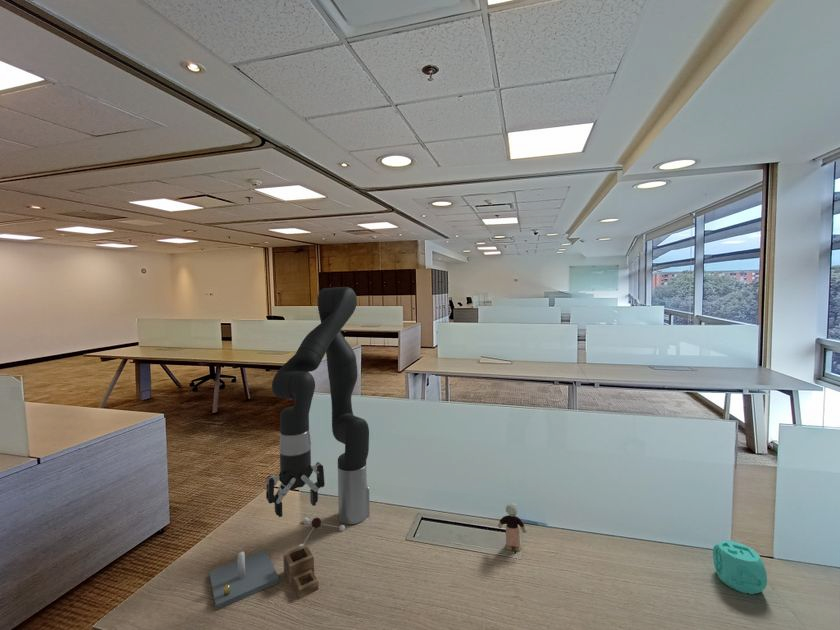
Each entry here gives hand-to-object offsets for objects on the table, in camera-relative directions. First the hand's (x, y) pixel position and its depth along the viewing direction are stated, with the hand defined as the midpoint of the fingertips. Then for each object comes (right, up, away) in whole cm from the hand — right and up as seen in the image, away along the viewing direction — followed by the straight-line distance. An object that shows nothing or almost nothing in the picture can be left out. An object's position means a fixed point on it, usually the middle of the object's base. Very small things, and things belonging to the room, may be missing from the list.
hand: (296, 509), depth 95 cm
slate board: (-13, -17, -1) cm, 22 cm away
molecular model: (+2, -17, +18) cm, 25 cm away
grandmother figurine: (+58, -16, +10) cm, 61 cm away
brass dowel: (-14, -16, -7) cm, 23 cm away
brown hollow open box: (+2, -17, -1) cm, 17 cm away
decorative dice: (+111, -16, -4) cm, 112 cm away
